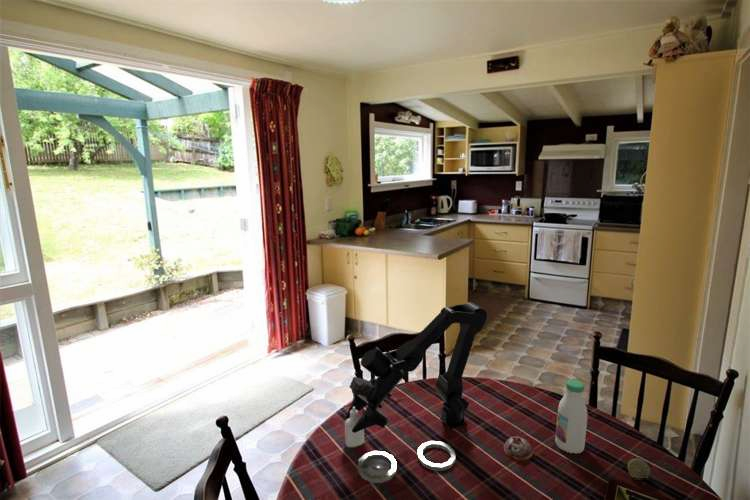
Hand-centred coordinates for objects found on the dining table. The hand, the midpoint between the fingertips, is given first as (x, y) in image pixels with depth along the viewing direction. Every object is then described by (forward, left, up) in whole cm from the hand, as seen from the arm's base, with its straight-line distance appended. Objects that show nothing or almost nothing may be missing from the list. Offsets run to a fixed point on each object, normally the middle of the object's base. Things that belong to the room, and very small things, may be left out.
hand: (349, 424), depth 117 cm
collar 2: (-20, +15, -7) cm, 26 cm away
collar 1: (-3, +12, -7) cm, 14 cm away
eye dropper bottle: (-1, 0, -7) cm, 7 cm away
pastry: (-43, +23, -7) cm, 49 cm away
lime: (-64, +43, -7) cm, 78 cm away
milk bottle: (-58, +27, -7) cm, 65 cm away
